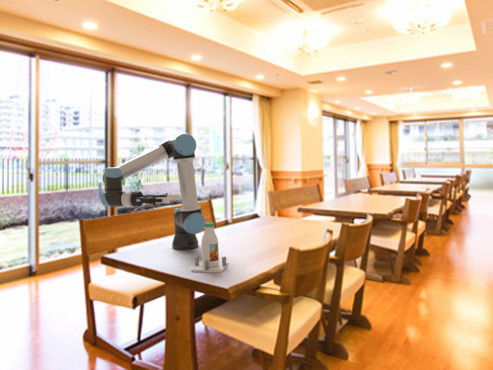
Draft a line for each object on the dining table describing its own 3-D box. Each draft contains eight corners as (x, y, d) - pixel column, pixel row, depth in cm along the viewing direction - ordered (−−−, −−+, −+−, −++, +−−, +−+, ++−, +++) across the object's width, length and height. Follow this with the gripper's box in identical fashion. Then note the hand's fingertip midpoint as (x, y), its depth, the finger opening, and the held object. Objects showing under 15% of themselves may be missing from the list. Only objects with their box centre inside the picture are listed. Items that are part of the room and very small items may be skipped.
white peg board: (199, 262, 172) (199, 252, 172) (229, 262, 170) (229, 252, 169) (190, 271, 157) (190, 261, 157) (222, 272, 155) (222, 261, 155)
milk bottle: (203, 268, 159) (202, 224, 157) (201, 263, 166) (199, 222, 165) (220, 266, 161) (219, 223, 160) (217, 262, 168) (215, 220, 167)
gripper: (144, 203, 184) (183, 203, 181) (120, 210, 159) (165, 210, 156) (144, 189, 183) (182, 188, 180) (119, 193, 159) (164, 193, 156)
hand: (174, 198), depth 168 cm, fingers open, 13 cm apart
